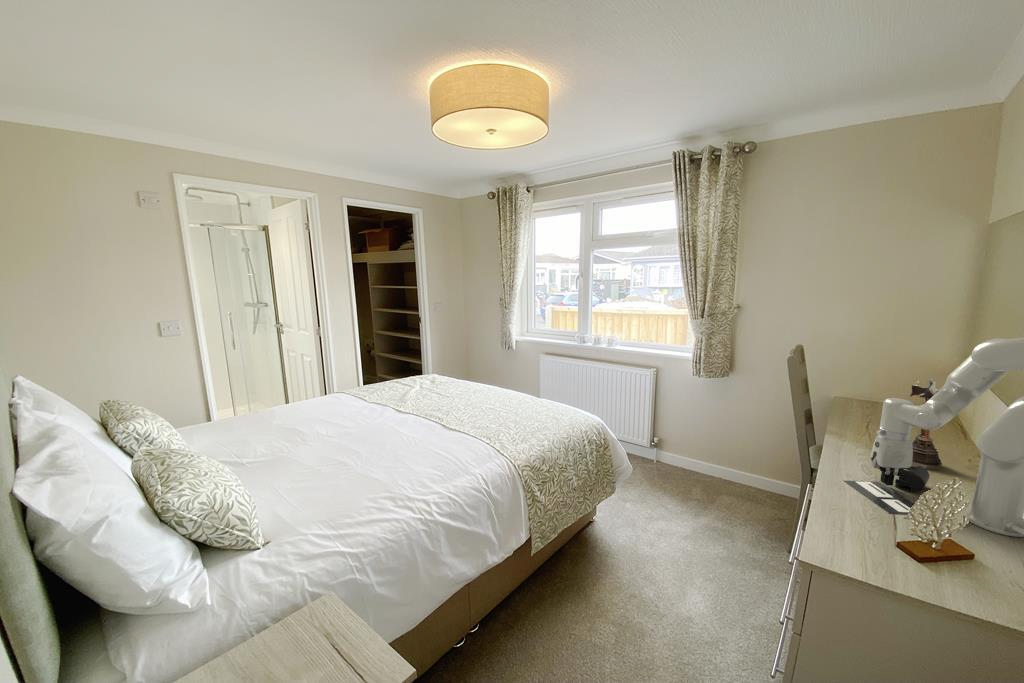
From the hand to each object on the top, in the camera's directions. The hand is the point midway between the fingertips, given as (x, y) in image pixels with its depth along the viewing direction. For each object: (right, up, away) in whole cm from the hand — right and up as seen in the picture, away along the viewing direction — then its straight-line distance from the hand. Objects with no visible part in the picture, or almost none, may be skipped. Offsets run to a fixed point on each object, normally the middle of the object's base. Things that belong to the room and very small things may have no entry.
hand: (886, 483), depth 137 cm
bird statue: (+31, +2, +19) cm, 36 cm away
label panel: (-6, -2, -6) cm, 9 cm away
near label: (-7, -3, -11) cm, 13 cm away
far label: (-6, -2, -1) cm, 6 cm away
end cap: (+9, -1, 0) cm, 9 cm away
